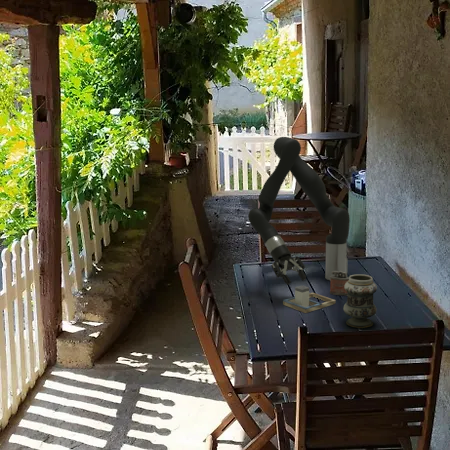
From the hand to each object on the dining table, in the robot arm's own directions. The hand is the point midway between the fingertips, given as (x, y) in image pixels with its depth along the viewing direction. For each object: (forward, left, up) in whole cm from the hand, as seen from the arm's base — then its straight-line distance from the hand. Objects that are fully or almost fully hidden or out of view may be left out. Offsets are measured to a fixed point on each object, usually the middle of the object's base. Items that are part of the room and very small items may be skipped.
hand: (297, 281), depth 255 cm
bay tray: (-4, +3, -10) cm, 11 cm away
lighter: (-23, +2, -10) cm, 25 cm away
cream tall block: (0, +3, -10) cm, 10 cm away
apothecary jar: (-3, +30, -10) cm, 32 cm away
